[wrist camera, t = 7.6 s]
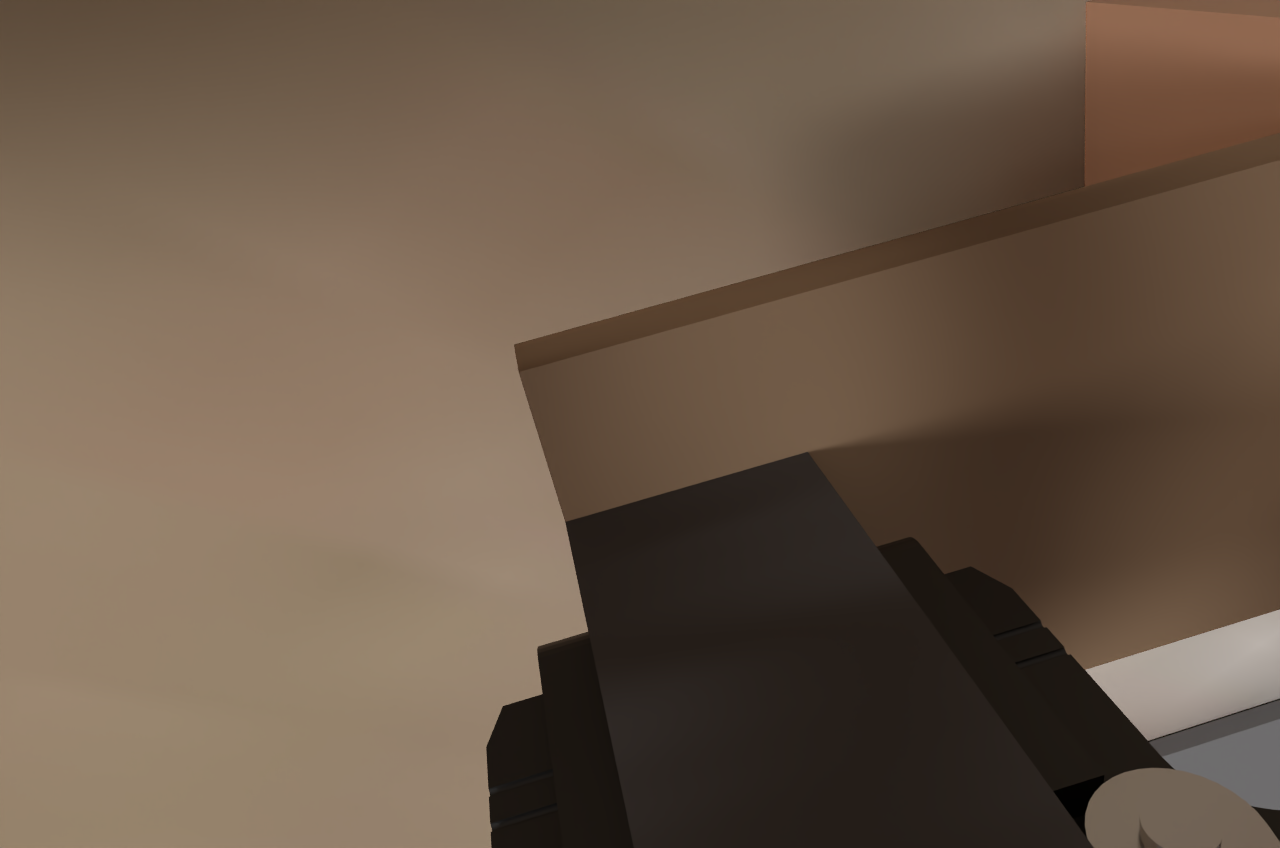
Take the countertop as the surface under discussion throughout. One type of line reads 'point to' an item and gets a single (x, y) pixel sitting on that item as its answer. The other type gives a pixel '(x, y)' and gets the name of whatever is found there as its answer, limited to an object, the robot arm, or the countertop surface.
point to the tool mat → (1233, 753)
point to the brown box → (916, 499)
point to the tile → (1177, 80)
